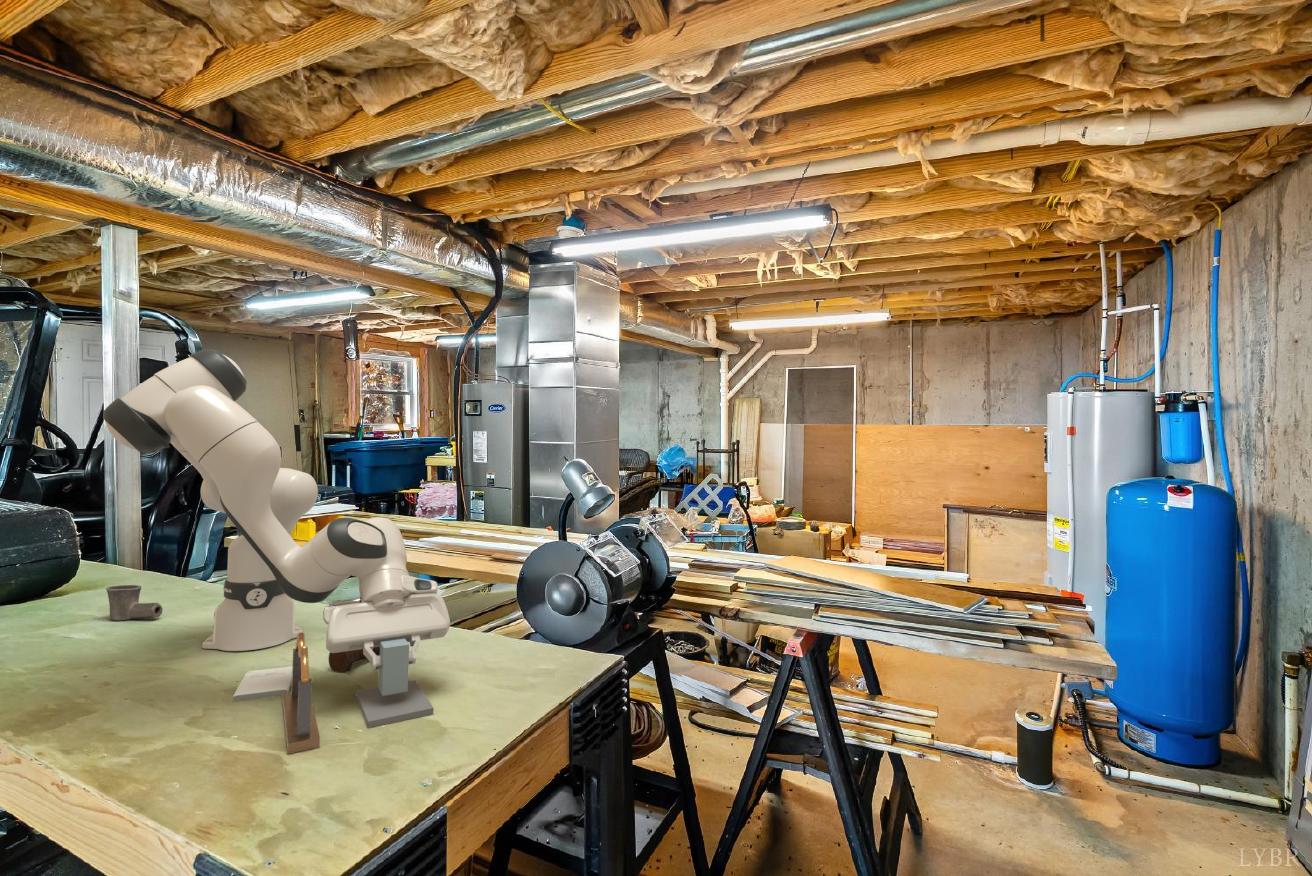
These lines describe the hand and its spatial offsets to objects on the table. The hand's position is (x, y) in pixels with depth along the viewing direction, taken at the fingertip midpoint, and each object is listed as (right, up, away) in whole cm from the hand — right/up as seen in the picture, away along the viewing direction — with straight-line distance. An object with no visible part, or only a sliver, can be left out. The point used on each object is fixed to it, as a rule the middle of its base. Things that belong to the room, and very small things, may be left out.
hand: (394, 665), depth 104 cm
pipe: (-84, -6, +45) cm, 96 cm away
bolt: (-15, -7, +22) cm, 27 cm away
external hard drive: (-27, -7, +8) cm, 29 cm away
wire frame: (-12, -7, -7) cm, 16 cm away
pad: (0, -7, +1) cm, 7 cm away
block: (0, -4, 0) cm, 4 cm away
